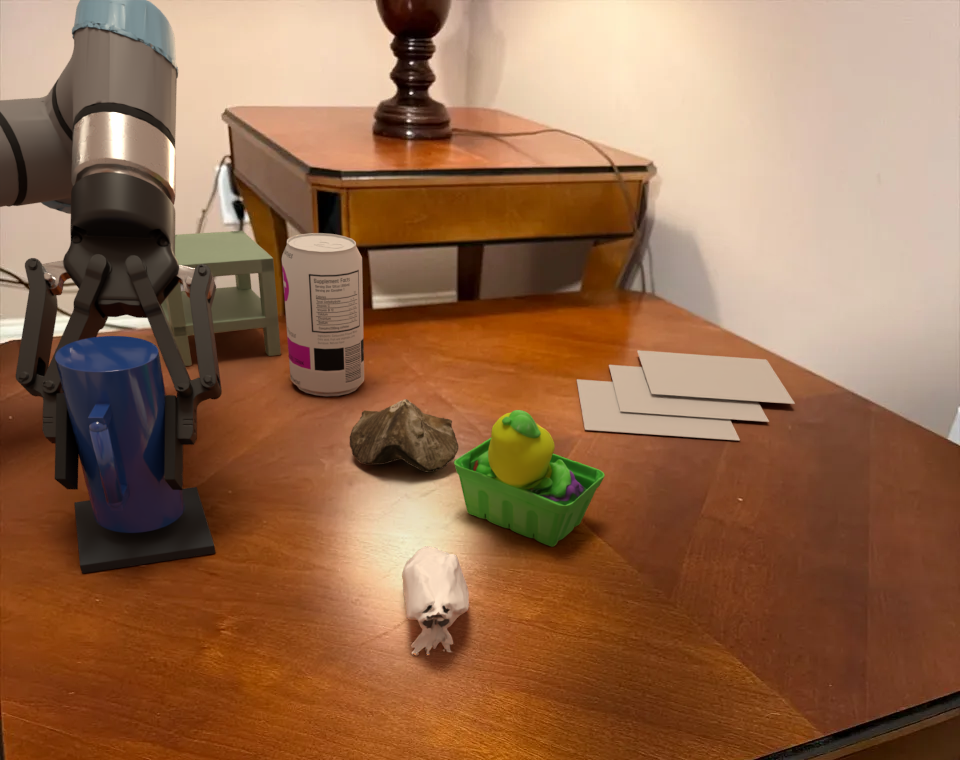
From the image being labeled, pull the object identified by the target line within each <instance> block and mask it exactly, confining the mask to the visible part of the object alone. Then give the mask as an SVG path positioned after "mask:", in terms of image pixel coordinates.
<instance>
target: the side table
mask: <svg viewBox="0 0 960 760" xmlns="http://www.w3.org/2000/svg"><path fill="white" fill-rule="evenodd" d="M175 257H176V259H177V260H178V263H179V265H183V266H187V267H191V268H196V266H198V265H200V264H205V265H207V266H208V267H209V268H210V270H211V273H212V276H213V278H215V277H226V276H227V277H228V276H234V277H235V286H227V287H216V292H215V296H214V299H213V303H212V307H211V311H212V319H213V327H214V334H217V333H219V334H220V333H228V332H236V331H238V332H239V331H245V330H256V329H262V330H263V341H264V352H265V353H266V355H267V356H268V357H274V356H281V355H282V351H281V350H282V349H281V339H280V338H281V337H280V325H279V313H278V312H279V311H278V301H277V288H276V275H275V262H274V257H272V256H271V254H269V253H268V252H267V251H266V250H265V249H264V248H262V247H261V246H260V245H259V244H258V243H257V242H256V241H254V240H253V238H252V237H250V236H249V234H247V233H246V232H245V231H244V230H231V231H215V232H197V233H181V234H179V233H178V234H175ZM252 274H258V275H257V277H258V287H259V295H258V294H257V293H256V292H255V290H253V289H252V281H251V278H252V277H251V275H252ZM161 305H162V308H163V310H164V313H165V315H166V318H167V320H168V323H169V326H170V329H171V331H172V334H173V336H174V339H175V341H176V344H177V346H178V349H179V351H180V354H181V356H182V359H183V361H184V364H185V366H186V367H191V366H192V365H193V361H192V357H191V349H190V343H189V342H190V341H189V336H194V329H193V321H192V313H191V305H190V298H189V297H188V296H187V295H186V293H185V290H182V287H181V283H180V282H179V283H178V284H177V286H176V287H175V288H174V289H173V291H172V292H171V293H170V294H169V295H168V297H167V298H166V299H165V300H164V302H163V303H162V304H161Z"/></svg>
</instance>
